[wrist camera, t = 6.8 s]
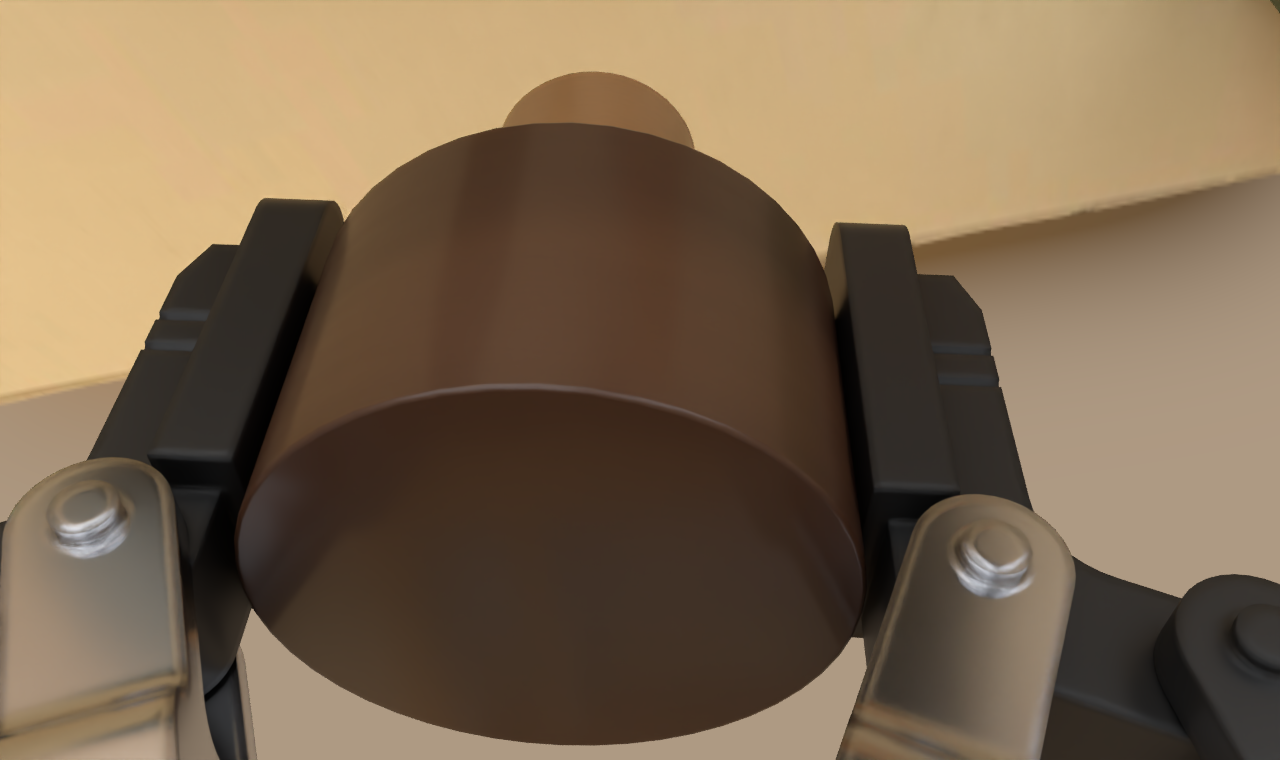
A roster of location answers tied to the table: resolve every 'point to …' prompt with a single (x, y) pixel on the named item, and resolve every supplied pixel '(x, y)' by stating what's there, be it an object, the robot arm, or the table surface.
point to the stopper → (563, 439)
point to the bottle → (1276, 4)
